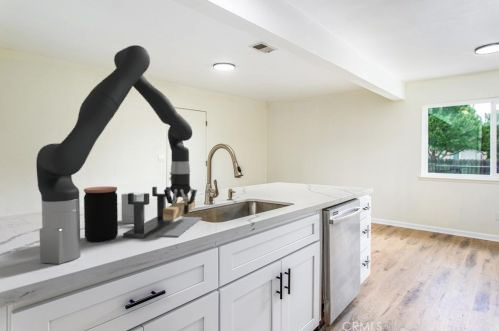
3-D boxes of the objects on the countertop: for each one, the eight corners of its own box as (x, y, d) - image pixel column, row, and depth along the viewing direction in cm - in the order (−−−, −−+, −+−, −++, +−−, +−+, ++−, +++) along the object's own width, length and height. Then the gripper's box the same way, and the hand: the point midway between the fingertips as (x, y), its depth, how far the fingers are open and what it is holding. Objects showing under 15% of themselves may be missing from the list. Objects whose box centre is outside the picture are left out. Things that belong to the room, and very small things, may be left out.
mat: (178, 237, 108) (178, 235, 108) (154, 236, 109) (154, 234, 109) (201, 218, 138) (201, 217, 138) (182, 218, 139) (182, 216, 139)
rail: (173, 220, 110) (173, 209, 110) (163, 219, 111) (162, 209, 111) (195, 207, 136) (194, 198, 136) (186, 206, 137) (186, 198, 136)
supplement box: (136, 223, 128) (136, 194, 128) (121, 222, 130) (120, 193, 129) (145, 219, 135) (145, 192, 135) (131, 219, 137) (130, 191, 136)
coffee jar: (109, 232, 114) (108, 185, 113) (123, 237, 107) (122, 188, 106) (79, 238, 106) (78, 188, 105) (92, 244, 99) (91, 190, 98)
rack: (144, 238, 107) (143, 195, 106) (123, 237, 108) (122, 194, 107) (173, 220, 134) (173, 186, 134) (156, 219, 135) (156, 185, 135)
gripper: (160, 172, 120) (160, 215, 121) (194, 173, 118) (194, 216, 119) (167, 171, 127) (167, 211, 128) (199, 172, 125) (200, 212, 126)
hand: (180, 213), depth 123 cm, fingers closed on rail, 4 cm apart
